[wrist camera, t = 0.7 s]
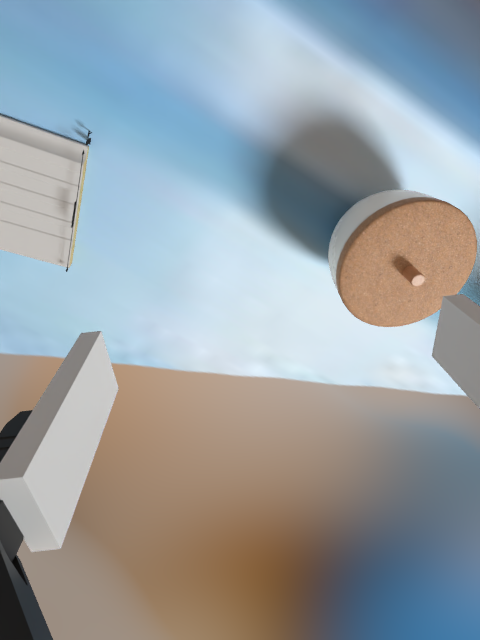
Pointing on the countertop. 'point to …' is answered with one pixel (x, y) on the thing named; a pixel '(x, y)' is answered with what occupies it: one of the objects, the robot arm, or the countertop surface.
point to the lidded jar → (400, 256)
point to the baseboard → (40, 191)
